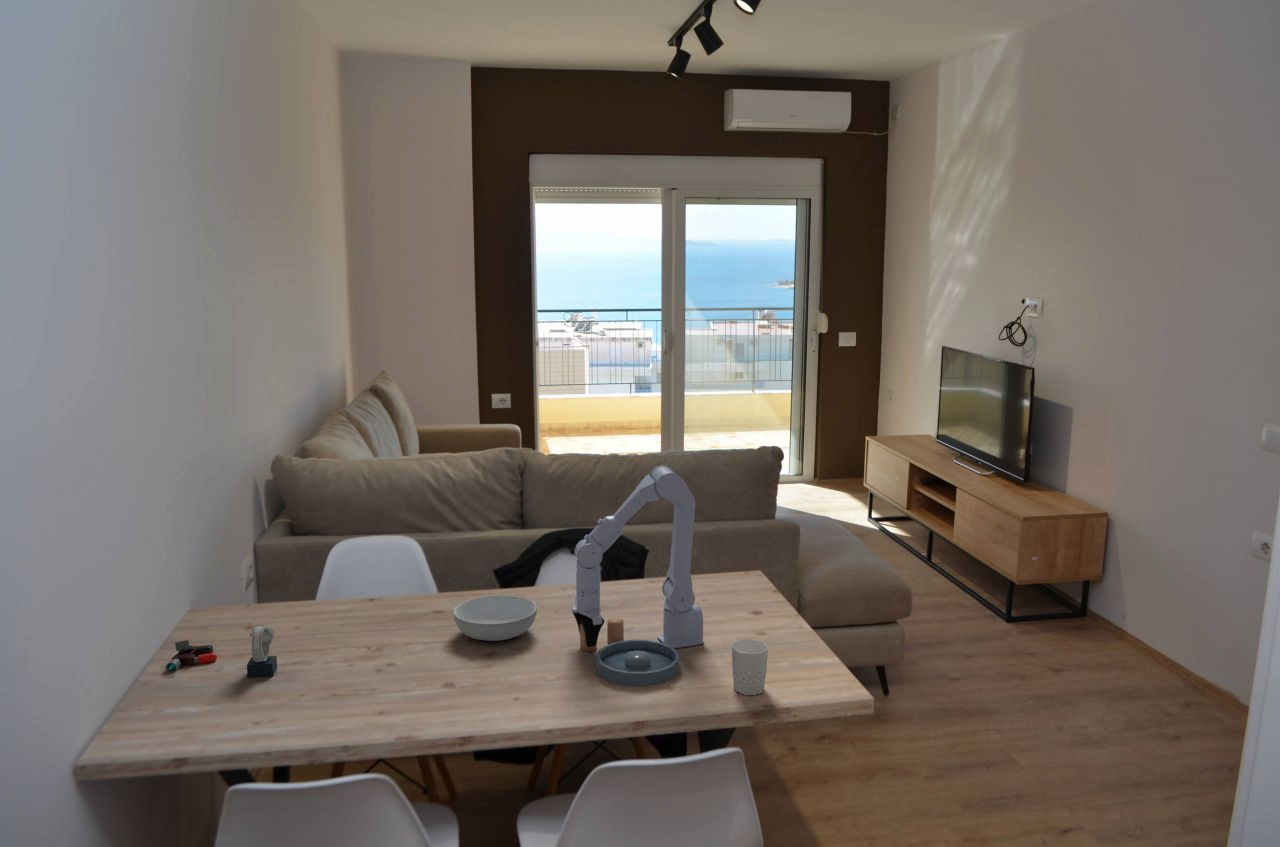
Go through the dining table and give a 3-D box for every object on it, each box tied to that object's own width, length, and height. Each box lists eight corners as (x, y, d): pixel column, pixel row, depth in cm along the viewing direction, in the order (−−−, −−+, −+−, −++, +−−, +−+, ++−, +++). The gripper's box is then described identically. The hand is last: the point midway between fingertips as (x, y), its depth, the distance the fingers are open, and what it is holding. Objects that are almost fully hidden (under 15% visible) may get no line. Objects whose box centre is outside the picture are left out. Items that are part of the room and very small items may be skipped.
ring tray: (659, 647, 233) (659, 635, 233) (691, 678, 216) (692, 665, 215) (585, 658, 226) (585, 646, 226) (612, 691, 209) (612, 678, 208)
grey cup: (743, 700, 205) (744, 656, 204) (724, 685, 212) (725, 643, 211) (774, 692, 209) (775, 649, 207) (753, 678, 216) (754, 637, 214)
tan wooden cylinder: (593, 644, 235) (593, 620, 234) (598, 650, 231) (598, 626, 230) (578, 646, 233) (577, 623, 232) (583, 652, 230) (583, 628, 229)
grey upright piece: (279, 665, 222) (276, 620, 220) (271, 679, 214) (268, 633, 212) (253, 666, 221) (250, 621, 219) (245, 681, 213) (242, 634, 211)
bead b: (620, 640, 237) (620, 617, 236) (625, 646, 234) (625, 622, 233) (605, 642, 236) (605, 619, 235) (610, 648, 232) (610, 625, 231)
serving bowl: (527, 615, 254) (527, 590, 253) (545, 644, 235) (545, 618, 233) (449, 624, 248) (448, 598, 247) (460, 655, 228) (459, 628, 227)
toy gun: (161, 674, 217) (160, 654, 216) (185, 653, 229) (183, 634, 228) (204, 674, 217) (203, 654, 217) (226, 653, 229) (224, 634, 228)
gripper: (563, 581, 235) (563, 634, 237) (581, 601, 222) (581, 656, 224) (590, 578, 238) (590, 630, 240) (610, 597, 224) (610, 652, 227)
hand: (588, 642), depth 232 cm, fingers closed on tan wooden cylinder, 4 cm apart
